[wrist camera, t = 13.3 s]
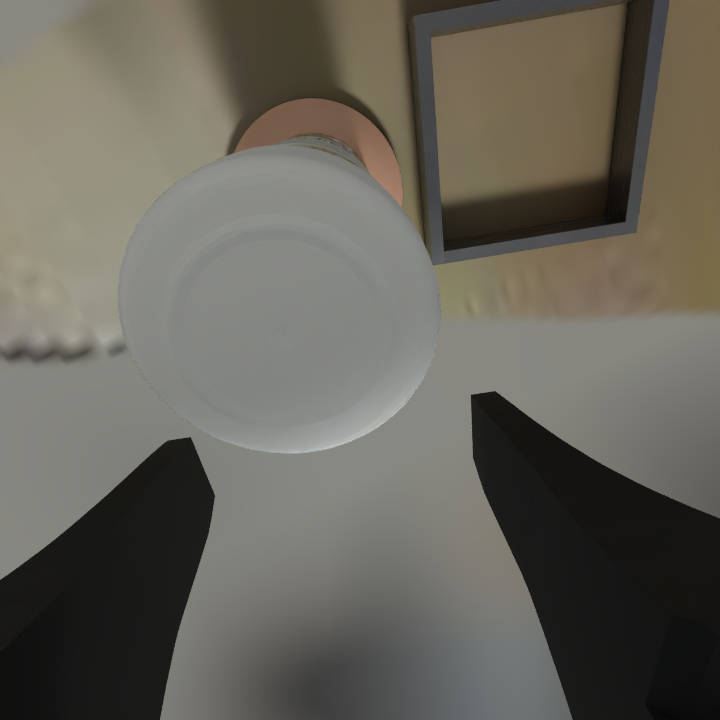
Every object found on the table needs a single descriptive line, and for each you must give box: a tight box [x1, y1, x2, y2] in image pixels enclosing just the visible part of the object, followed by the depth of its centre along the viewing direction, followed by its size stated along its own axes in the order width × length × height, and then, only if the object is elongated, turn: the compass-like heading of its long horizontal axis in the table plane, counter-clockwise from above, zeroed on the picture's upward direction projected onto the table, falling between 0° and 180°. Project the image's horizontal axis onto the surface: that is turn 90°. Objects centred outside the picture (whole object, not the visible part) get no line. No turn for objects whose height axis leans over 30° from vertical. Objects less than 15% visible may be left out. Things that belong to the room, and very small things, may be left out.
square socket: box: [407, 0, 669, 265], centre depth 17 cm, size 8×8×2 cm
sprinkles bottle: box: [118, 132, 441, 453], centre depth 12 cm, size 5×5×13 cm
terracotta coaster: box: [234, 98, 403, 207], centre depth 18 cm, size 7×7×1 cm
